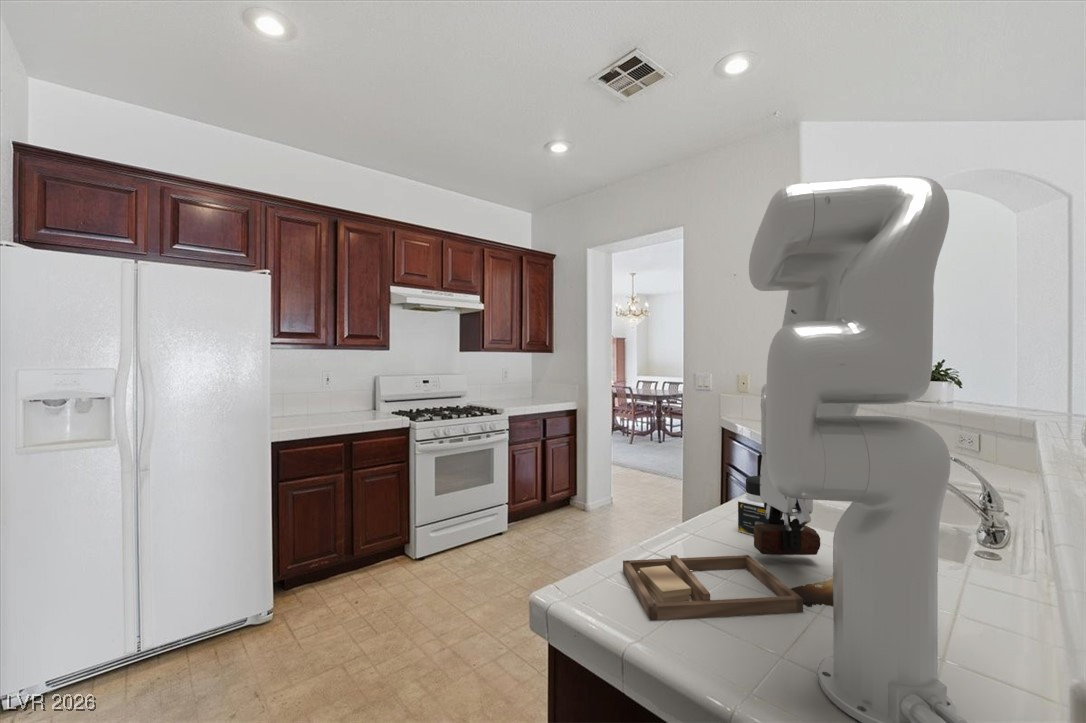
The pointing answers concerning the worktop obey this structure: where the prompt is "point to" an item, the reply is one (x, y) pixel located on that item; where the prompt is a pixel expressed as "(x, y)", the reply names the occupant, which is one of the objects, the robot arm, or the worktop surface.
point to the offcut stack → (664, 584)
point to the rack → (701, 596)
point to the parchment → (816, 593)
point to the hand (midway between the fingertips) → (783, 544)
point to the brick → (771, 540)
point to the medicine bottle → (751, 507)
